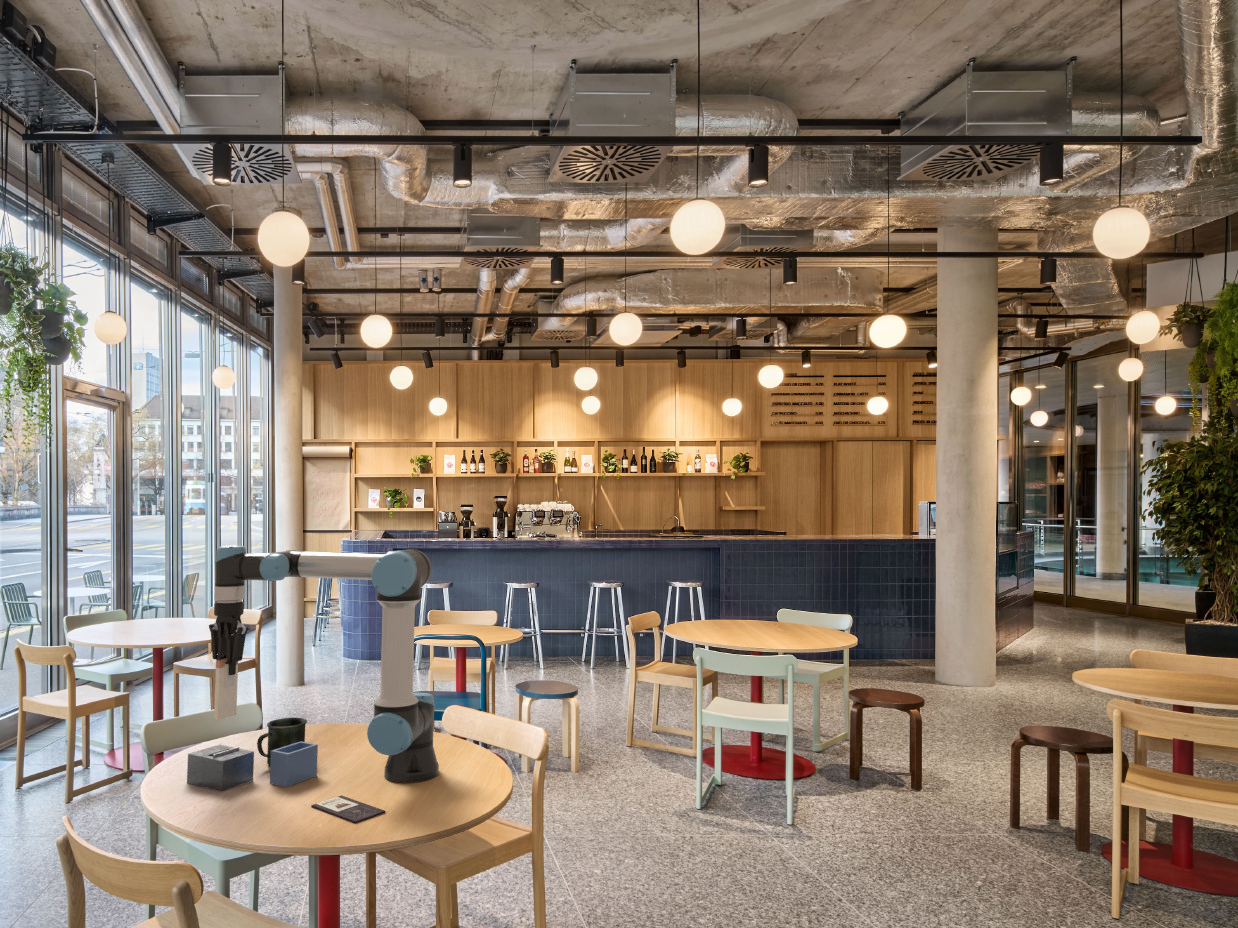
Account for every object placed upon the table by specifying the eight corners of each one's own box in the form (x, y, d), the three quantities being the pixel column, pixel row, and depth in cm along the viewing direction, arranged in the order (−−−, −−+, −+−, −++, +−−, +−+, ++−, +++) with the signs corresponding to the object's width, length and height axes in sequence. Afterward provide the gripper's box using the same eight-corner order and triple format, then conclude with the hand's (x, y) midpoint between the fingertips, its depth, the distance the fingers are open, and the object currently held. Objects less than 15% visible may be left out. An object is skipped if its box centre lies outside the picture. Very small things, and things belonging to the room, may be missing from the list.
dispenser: (253, 780, 230) (254, 748, 230) (221, 791, 221) (223, 758, 221) (218, 772, 236) (219, 741, 236) (186, 783, 227) (188, 750, 228)
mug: (313, 761, 247) (314, 721, 248) (267, 774, 236) (268, 731, 236) (292, 754, 254) (294, 715, 254) (247, 766, 242) (248, 724, 243)
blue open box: (316, 775, 235) (317, 744, 235) (286, 786, 225) (288, 754, 226) (299, 772, 238) (300, 741, 238) (269, 783, 228) (270, 750, 228)
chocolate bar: (355, 821, 200) (311, 804, 211) (355, 825, 200) (311, 808, 211) (385, 810, 208) (341, 795, 218) (385, 814, 208) (341, 798, 218)
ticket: (236, 714, 232) (238, 657, 233) (217, 719, 226) (219, 660, 227) (232, 713, 233) (234, 656, 233) (213, 718, 227) (215, 660, 228)
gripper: (258, 601, 231) (256, 686, 230) (222, 598, 238) (220, 680, 236) (236, 603, 225) (233, 691, 223) (199, 600, 231) (196, 686, 230)
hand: (226, 685), depth 230 cm, fingers closed on ticket, 1 cm apart
